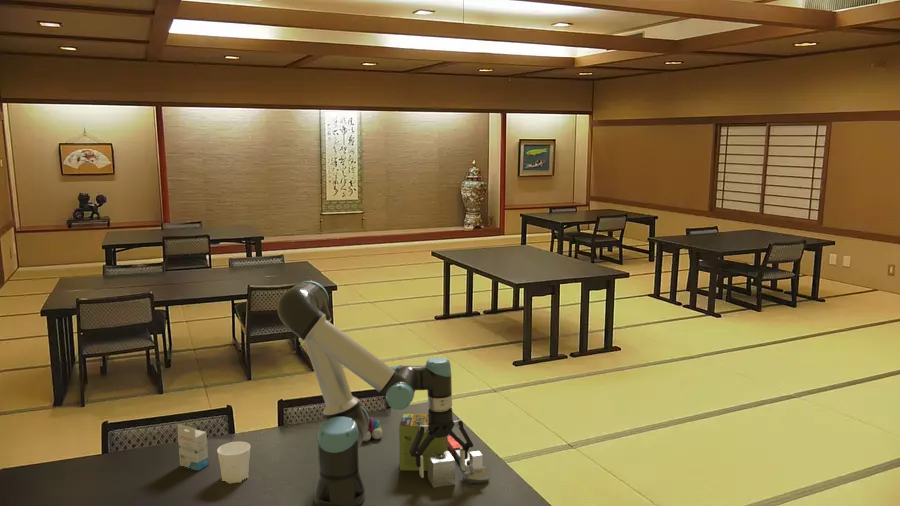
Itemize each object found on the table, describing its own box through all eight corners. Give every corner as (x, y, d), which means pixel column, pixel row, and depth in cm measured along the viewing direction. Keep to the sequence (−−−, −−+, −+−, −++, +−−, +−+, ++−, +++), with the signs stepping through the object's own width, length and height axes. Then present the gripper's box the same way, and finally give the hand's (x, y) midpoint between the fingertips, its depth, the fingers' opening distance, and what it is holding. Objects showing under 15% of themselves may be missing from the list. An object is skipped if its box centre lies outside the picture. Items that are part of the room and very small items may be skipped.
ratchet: (467, 485, 213) (467, 460, 211) (440, 445, 242) (440, 422, 241) (492, 482, 215) (492, 457, 214) (462, 442, 244) (462, 420, 243)
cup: (218, 486, 213) (216, 456, 211) (219, 472, 222) (218, 443, 221) (251, 482, 216) (250, 452, 214) (252, 468, 225) (250, 440, 224)
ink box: (209, 465, 228) (206, 423, 225) (197, 471, 223) (195, 428, 221) (191, 460, 231) (188, 418, 229) (179, 466, 227) (176, 423, 225)
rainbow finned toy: (352, 435, 251) (352, 416, 250) (378, 430, 255) (377, 412, 254) (359, 444, 244) (359, 424, 242) (385, 439, 248) (385, 420, 246)
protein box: (446, 471, 222) (446, 426, 220) (399, 470, 223) (398, 425, 221) (448, 457, 233) (447, 413, 230) (403, 456, 233) (402, 413, 231)
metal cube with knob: (433, 487, 212) (433, 461, 210) (427, 477, 218) (427, 452, 217) (455, 484, 214) (454, 458, 212) (448, 474, 220) (448, 449, 219)
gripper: (403, 417, 206) (406, 484, 209) (482, 406, 213) (483, 470, 216) (398, 409, 213) (401, 473, 216) (474, 398, 220) (476, 461, 223)
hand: (442, 472), depth 216 cm, fingers open, 13 cm apart
